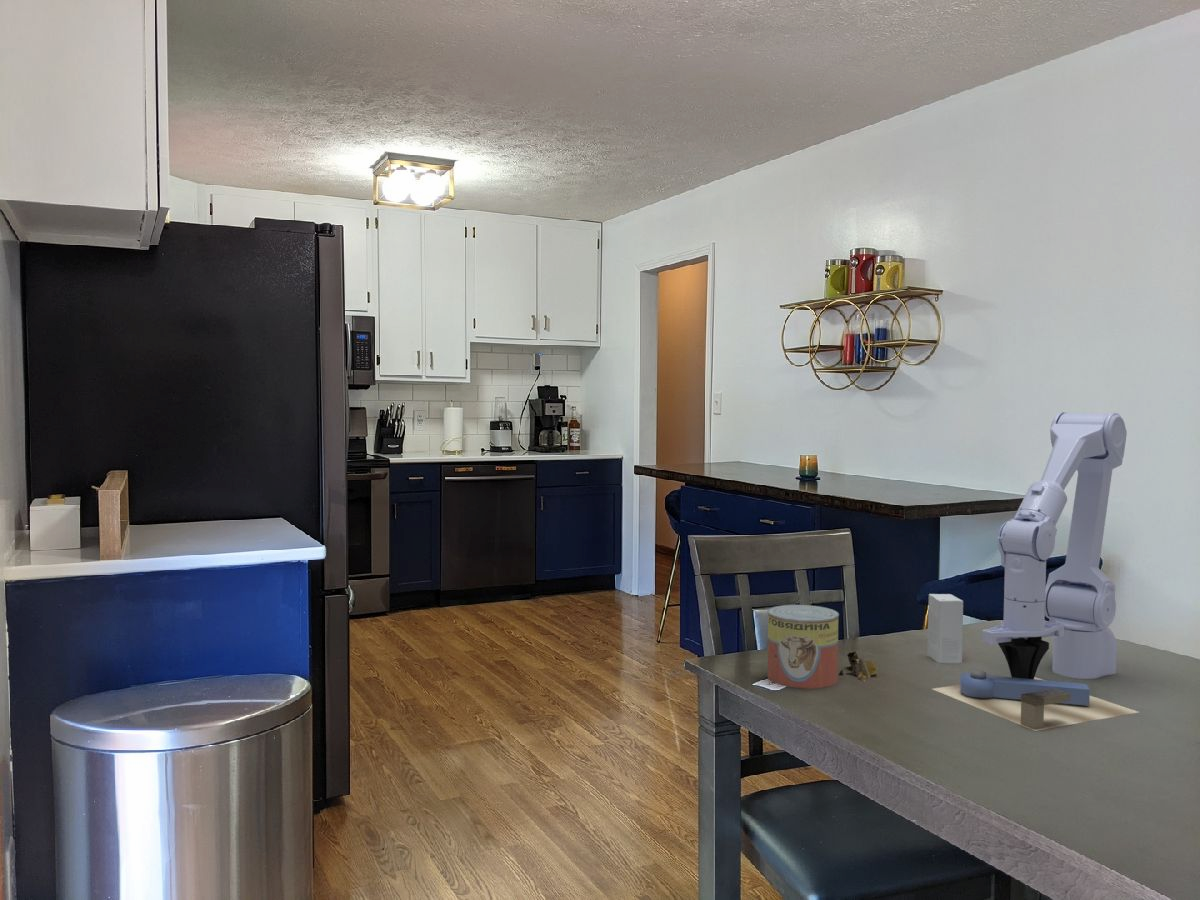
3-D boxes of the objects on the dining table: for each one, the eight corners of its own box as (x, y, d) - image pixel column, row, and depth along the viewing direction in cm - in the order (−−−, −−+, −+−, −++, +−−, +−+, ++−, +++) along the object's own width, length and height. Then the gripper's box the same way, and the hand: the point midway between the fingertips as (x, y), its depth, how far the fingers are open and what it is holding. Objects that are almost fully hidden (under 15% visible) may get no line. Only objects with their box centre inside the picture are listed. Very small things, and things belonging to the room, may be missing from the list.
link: (961, 696, 140) (961, 675, 140) (959, 686, 145) (959, 666, 145) (1090, 707, 135) (1091, 686, 134) (1084, 697, 139) (1084, 676, 139)
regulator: (884, 706, 143) (877, 663, 157) (876, 683, 142) (870, 642, 156) (836, 718, 145) (834, 674, 159) (828, 695, 144) (826, 653, 158)
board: (1027, 681, 152) (1027, 674, 152) (1139, 720, 134) (1139, 712, 134) (931, 696, 145) (931, 688, 145) (1035, 739, 126) (1035, 730, 126)
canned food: (761, 692, 147) (762, 617, 146) (772, 672, 158) (772, 602, 157) (835, 699, 143) (836, 622, 143) (840, 678, 154) (841, 607, 154)
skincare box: (963, 670, 159) (964, 600, 158) (937, 669, 159) (939, 600, 159) (950, 660, 165) (951, 593, 165) (926, 660, 165) (927, 593, 165)
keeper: (1055, 726, 131) (1056, 688, 131) (1069, 732, 129) (1070, 693, 129) (1020, 732, 129) (1021, 694, 128) (1034, 738, 127) (1035, 699, 126)
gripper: (1039, 590, 148) (1036, 673, 149) (968, 597, 143) (966, 684, 144) (1076, 598, 142) (1073, 686, 142) (1003, 606, 136) (1001, 697, 137)
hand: (1022, 686), depth 143 cm, fingers closed
